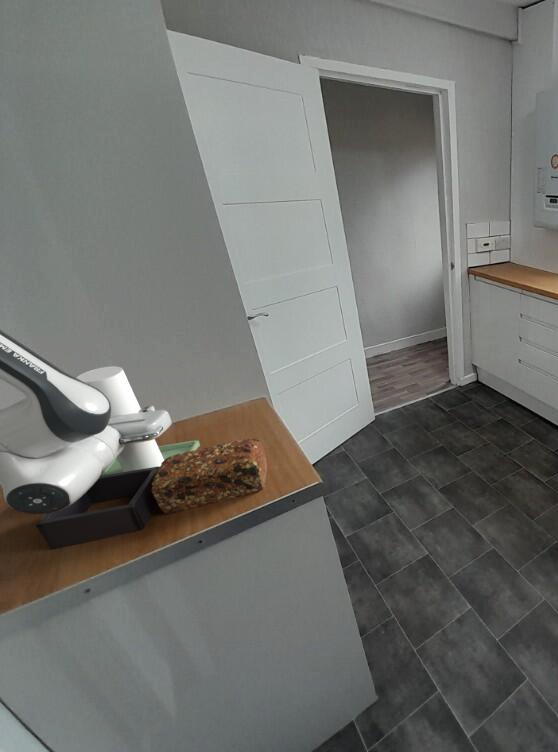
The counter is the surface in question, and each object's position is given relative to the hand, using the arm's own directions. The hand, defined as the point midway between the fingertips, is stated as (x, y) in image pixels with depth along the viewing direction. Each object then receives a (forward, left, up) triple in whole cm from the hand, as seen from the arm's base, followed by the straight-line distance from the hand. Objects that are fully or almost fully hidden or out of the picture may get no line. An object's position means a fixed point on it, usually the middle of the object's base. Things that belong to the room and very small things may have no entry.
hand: (124, 412), depth 91 cm
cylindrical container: (0, -1, -15) cm, 15 cm away
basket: (0, -16, -15) cm, 22 cm away
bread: (+18, -14, -15) cm, 28 cm away
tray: (0, -1, -15) cm, 15 cm away
